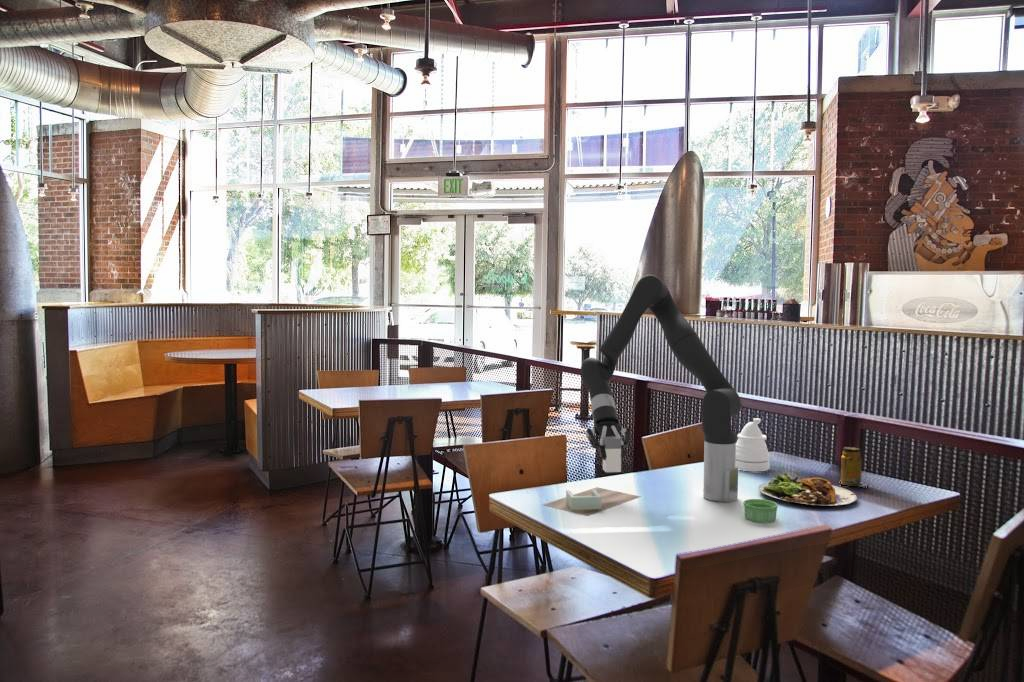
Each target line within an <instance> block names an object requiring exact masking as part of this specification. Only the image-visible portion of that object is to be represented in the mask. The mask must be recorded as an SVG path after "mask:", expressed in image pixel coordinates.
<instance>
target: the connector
mask: <svg viewBox="0 0 1024 682" xmlns="http://www.w3.org/2000/svg"><path fill="white" fill-rule="evenodd" d="M620 437H621V436H620ZM620 437H618V436H605V437H603V440H604V446H605V451H606V456H607V457H606V460H603V459H602V470H603V471H604V472H605V473H621V472H622V460H621V440H622V438H620Z"/></svg>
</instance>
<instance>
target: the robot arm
mask: <svg viewBox="0 0 1024 682" xmlns="http://www.w3.org/2000/svg"><path fill="white" fill-rule="evenodd" d="M648 309H649V311H650V312H651V313H652V314H653V316H654V317H655V318H656V320H657V321H658V323H659V324H660V327H661V329H662V332H663V335H664V337H665V338H664V339H666V342H667V345H668V346H669V348H670V350H671V352H672V353H673V355H674V357H675V358H676V360H677V361H678V362H679V363H680V365H682V367H683V368H684V369H686V370H687V371H688V372H689V373H690V374H691V375H693V376H694V377H695V378H696V379H697V380H698V381H699V383H701V385H702V386H703V388H704V389H705V391H706V393H705V395H704V396H703V398H702V402H701V428H702V433H703V436H704V441H703V443H704V444H703V445H704V446H703V447H704V448H703V449H704V450H703V451H704V453H703V489H702V491H703V498H704V499H706V500H710V501H715V502H726V503H730V502H733V501H735V500H736V499H738V496H739V491H738V490H739V471H738V467H736V443H737V434H736V432H735V431H733V430H732V420H731V418H733V417H736V416H737V415H738V414H740V411H741V408H742V401H741V398H740V395H739V393H738V392H737V391H736V389H735V388H734V387H733V385H732V384H731V383H730V382H729V380H728V379H727V378H726V377H725V375H724V374H723V373H722V372H721V370H720V368H719V367H718V366H717V364H716V362H715V361H714V359H713V357H712V355H710V353H709V352H708V350H707V348H706V346H705V345H704V342H702V340H701V338H700V337H699V334H698V333H697V332H696V331H695V329H694V327H693V326H692V325H691V324H690V323H689V321H688V320H687V319H686V318H685V317H684V315H683V314H682V313H681V312H680V310H679V308H678V307H677V304H676V303H675V301H674V298H673V296H672V294H671V293H670V289H669V288H668V285H667V284H666V283H665V282H664V281H663V280H662V279H661V278H659V277H658V276H656V275H655V274H647V275H644V276H642V277H641V278H640V279H638V281H637V282H636V284H635V286H634V288H633V291H632V293H631V294H630V297H629V299H628V302H627V303H626V305H625V307H624V309H623V311H622V313H621V314H620V315H619V317H618V319H617V321H616V323H615V324H614V326H613V327H612V328H611V330H610V331H609V333H608V334H607V336H606V338H605V339H604V340H603V342H602V343H601V345H600V347H599V352H601V353H600V354H602V355H603V360H602V361H601V360H599V359H597V358H594V357H588V358H586V359H584V360H583V362H582V363H581V366H580V375H581V377H582V378H581V379H582V380H583V382H584V385H585V387H586V389H587V391H588V392H589V398H590V408H591V415H592V420H593V425H594V428H590V427H588V428H587V429H586V432H585V435H586V437H587V440H588V442H589V443H590V445H591V448H592V449H593V450H594V449H598V450H599V455H600V456H599V457H600V458H601V459H602V461H603V460H606V457H607V456H606V451H605V446H604V440H603V437H605V436H618V437H620V438H621V435H620V433H622V435H623V437H624V440H622V438H621V461H622V460H624V457H625V455H626V452H625V449H627V448H628V446H629V443H630V436H631V428H630V427H626V428H624V427H622V426H621V425H620V421H619V417H618V412H617V407H616V403H615V400H614V397H613V392H612V388H611V386H610V383H609V382H610V381H611V379H612V377H613V374H614V373H615V369H616V368H617V367H616V366H617V364H618V362H619V359H620V356H621V355H622V354H623V352H624V351H625V350H626V348H627V347H628V345H629V343H630V342H631V340H632V338H633V335H634V333H635V331H636V328H637V327H638V326H637V325H638V324H639V322H640V319H641V318H642V317H643V315H644V314H645V312H646V311H647V310H648ZM595 434H596V435H597V436H598V437H599V438H600V439H599V441H597V438H596V436H595Z"/></svg>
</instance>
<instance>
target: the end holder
mask: <svg viewBox="0 0 1024 682" xmlns="http://www.w3.org/2000/svg"><path fill="white" fill-rule="evenodd" d="M573 495H574V494H573V493H572V491H571V490H570V489H568V490H567V489H566V491H565V497H566V503H567V504H568V506H569V507H570V509H571V510H591V509H601V496H600V495H599V494H598V492H597V491H596V490H592V496H577V497H574V496H573Z"/></svg>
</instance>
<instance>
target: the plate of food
mask: <svg viewBox="0 0 1024 682" xmlns="http://www.w3.org/2000/svg"><path fill="white" fill-rule="evenodd" d="M758 490H759V491H760V492H761V493H762V494H763V495H766V496H769V497H771V498H775V499H779V500H782V501H784V502H788V503H797V504H802V505H803V504H805V505H811V506H843V505H849V504H851V503H854V502H856V501H857V495H856V494H855V493H854V491H851V490H848V489H846V488H844V487H842V486H839V485H838V486H837V485H833V484H832V483H831V482H830V481H829V480H828V479H825V478H821V477H811V478H810V477H809V478H803V479H800V480H799V478H798V476H795V477H793V478H791V477H790V476H789V475H788V474H787V473H786V472H784V474H778V475H776V476H775V477H772V478H771V480H770V481H766V482H763V483H761V484H759V485H758ZM778 497H779V498H778ZM780 497H782V498H780ZM837 498H839V499H840V502H838V500H837Z"/></svg>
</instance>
